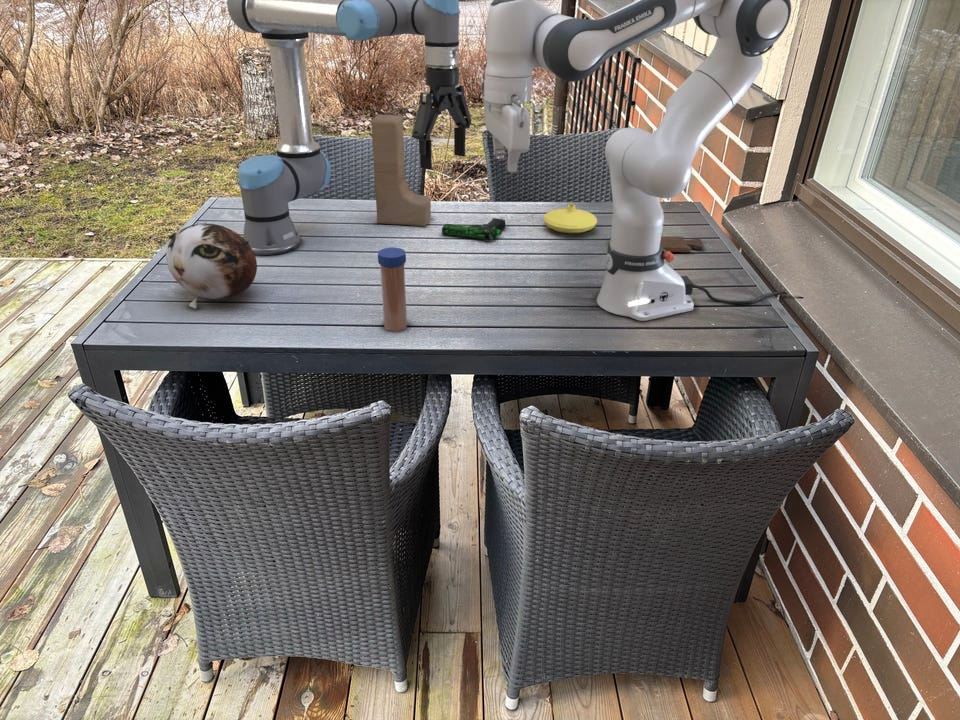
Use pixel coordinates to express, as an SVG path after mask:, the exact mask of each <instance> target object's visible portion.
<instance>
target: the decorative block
mask: <svg viewBox="0 0 960 720" xmlns="http://www.w3.org/2000/svg"><path fill="white" fill-rule="evenodd" d="M370 122H371V123H370V125H371V141H372V157H373V160H372V161H373V175H374V176H373V177H374V189H375V206H376V222H377V224H384V225H385V224H387V225H401V226H417V227H418V226H419V227H426V226H427V225H428V224H429V222H430V220H431V217H432V207H431V206H432V205H431V201H432V200H431V197H430V196H428V195H423V194H418V193H415V192H414V191H412V190H411V189H410V187H409V185H408V182H407V180H406V168H405V167H406V166H405V143H404V141H405V139H404V118H403V116H402V115H396V114H395V115H394V114H376V116H375V117H373V118H372V119H371V121H370Z"/></svg>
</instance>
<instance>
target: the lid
mask: <svg viewBox="0 0 960 720" xmlns="http://www.w3.org/2000/svg"><path fill="white" fill-rule="evenodd" d="M406 261H407V253H406V250H405V249H403V248H400V247H395V246H394V247H384V248H381V249H380V250H378V251H377V262H378V265H379V266H380V265H381V266H384V267H398V266H402V265H404V266H405V264H406V263H407V262H406Z"/></svg>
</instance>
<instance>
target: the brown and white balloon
mask: <svg viewBox="0 0 960 720" xmlns="http://www.w3.org/2000/svg"><path fill="white" fill-rule="evenodd" d="M176 233H177V234H176V235H174V237H173V238H172V239H170V241H169V243H168V245H167V248H166V254H165V260H166V265H167V268H168V271H169V273H170V275H171V276H172V277H173V279H174V280H175V281H176V282H177V284H178V285H180V286H181V287H182V288H183V289H185V290H186V291H187V292H189V293H191V294H194V295H195V298H194V299H193V300H192V302H190V303H189V304H188V306H189V307H191V308H192V309H197V308H198V307H197V298H198V297H201V298H205V299H210V300H226V299H230V298H233V297H236V296H238V295H241V294H242V293H244V292H245V291H247V290H248V289H249V288H250V286H251V285H252V284H253V282H254V280H255V278H256V275H257V271H258V262H257V257H256V254H254V252H253V250H252V248H251V247H250V245H249V244H248V242H249V241H246V240H245V239H244V238H243V236H242V235H240V234H239V233H238V232H236V231H234V230H233V229H231V228H229V227H226V226H223V225H220V224H215V223H205V222H204V223H195V224H191V225H188V226H186V227H183V228H182V229H180V230H179V231H177V232H176Z"/></svg>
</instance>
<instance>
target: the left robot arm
mask: <svg viewBox="0 0 960 720" xmlns="http://www.w3.org/2000/svg"><path fill="white" fill-rule="evenodd" d="M226 7H227V12H228V15H229V17H230V19H231V21H232V22H233V23H234V25H236V26H237V28H239V29H240V30H242V31H244V32H246V33H250V34H260V35H261V40H262V41H264V42H265V43H266V44H267V46H268V48H269V57H270V63H271V72H272V81H273V88H274V96H275V103H276V111H277V119H278V128H279V135H280V142H279V143H278V145H277V146H276V148H275V149H276V150H275V151H276V154H262V155H254V156H253V157H250V158H247V159H245V160H244V161H242V162H241V163H240V164H239V166H238V168H237V174H238V185H239V190H240V194H241V195H240V196H241V201H242V208H243V212H244V213H243V215H244V219H245V220H244V226H243V228H244V229H243V235H242V237H243V238H244V239H245V240H246V241H249V242H248V244H249V245H250V247H251V248H252V250H253V252H254V254H255V256H256V255H257V256H275V255H281V254H282V255H283V254H285V253H289V252H291V251H293V250H296V249H297V248H298V247H299V246H300V244H301V241H300V235H299V233H298V231H297V229H296V227H295V225H294V223H293V220H292V218H291V216H290V207H289V203H291V202H293V201H296V200H299V199H302V198H305V197H309V196H312V195H315V194H317V193H318V192H321V191H322V190H324V189H325V188H326V187H328V185H329V183H330V180H331V175H332V168H331V163H330V160H329V158H327V155H326V153H325V152H324V151H323V150H321V146H320V144H319V143H318V142H316V141H315V140H314V134H313V133H314V132H313V123H312V115H311V114H312V113H311V104H310V94H309V93H310V92H309V84H308V75H307V65H306V55H305V44H306V43H307V41H308V40H309V39H310V36H309V34H310V33H311V34H319V35H320V34H321V35H328V36H329V35H330V36H339V37H345V38H346V39H347V40H350V41H359V42H360V41H361V42H362V41H363V42H364V41H368V40H373V39H378V38H385V37H392V36H400V35H418V36H424V64H425V65H426V67H425V72H424V73H425V84H426V85H427V86H428V87H429V92H420V94H419V104H418V109H417V112H416V117H415V121H414V125H413V130H412V132H411V138H412V139H415V140H417V141H418V153H419V159H420V160H419V163H420V165H419V168H420V169H425V170H432V169H433V163H432V162H433V161H432V160H433V157H432V139H430V136H431V135H432V133H433V129H434V128H435V127H434V126H435V125H436V122H437V120H438V117H439V115H441V114H442V112H444V111H446V110H447V112H448V113H449V115H450V117H451V119H452V120H453V123H454V124H455V126H456V127H453V130H454V131H453V155H454V156H456V157H463V158H464V157H466V136H467V135H466V133H467V132H466V130H467V129H470V127H471V124H472V117H471V114H470V110H469V107H468V102H467V99H466V96H465V87H464V85H462V84H460V68H459V67H458V65H459V64H460V41H459V40H460V39H459V38H460V34H459V33H460V31H459V30H460V13H461V10H460V3H459V0H226ZM177 233H178V232H174V233H172V234H171V235H169V236H168V238H167V239H168V240H171V239H172V238H173V237H174V235H176V234H177Z"/></svg>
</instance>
